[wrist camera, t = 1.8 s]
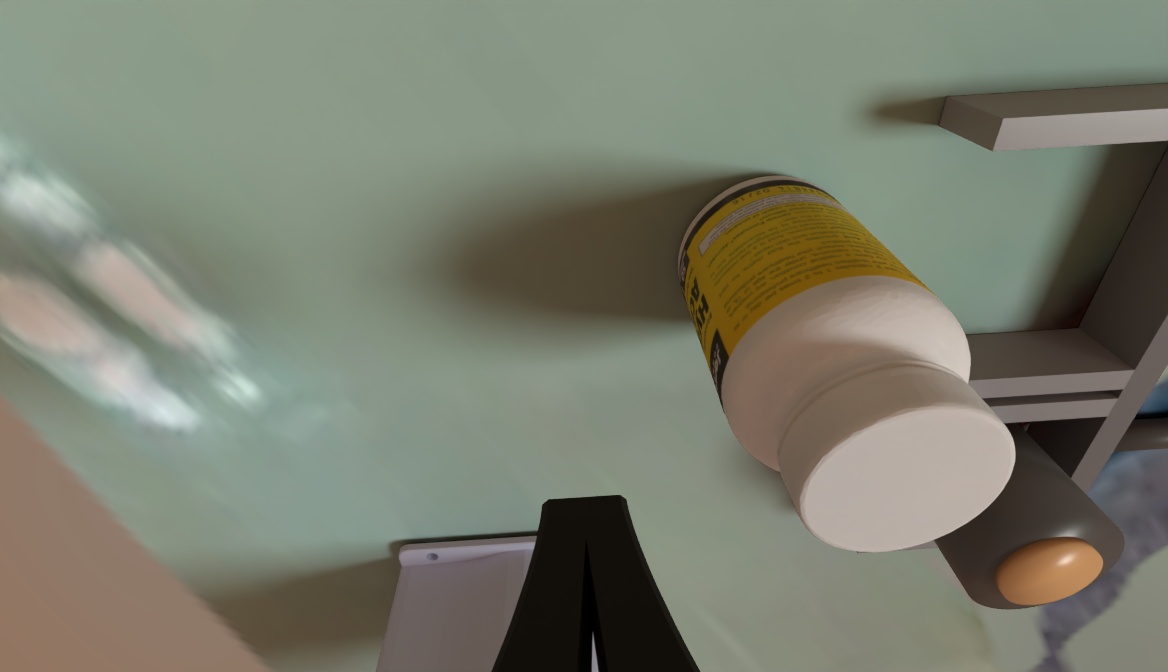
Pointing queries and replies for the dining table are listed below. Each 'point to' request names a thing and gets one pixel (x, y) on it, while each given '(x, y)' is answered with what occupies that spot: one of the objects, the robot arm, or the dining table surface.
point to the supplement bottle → (839, 368)
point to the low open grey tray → (1067, 364)
